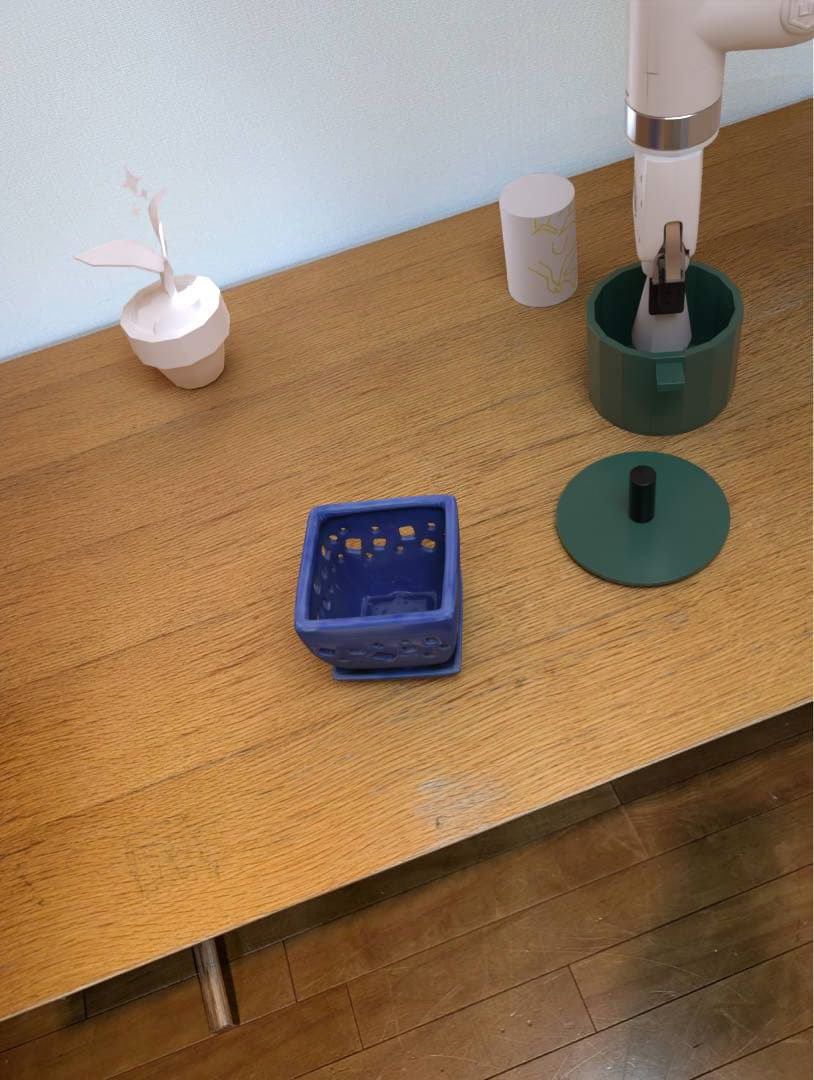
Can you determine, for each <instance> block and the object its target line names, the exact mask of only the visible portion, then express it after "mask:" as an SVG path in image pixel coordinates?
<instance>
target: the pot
mask: <svg viewBox="0 0 814 1080" xmlns="http://www.w3.org/2000/svg"><path fill="white" fill-rule="evenodd" d="M685 275H686V287H685V294H686V301H687V308H688V314H689V321H690V328H691V335H692V338H691V341H690V343H689V345H688V347H687V349H686V350H684V351H673V352H659V353H652V352H647V351H642V350H636V349H634V347H633V343H632V335H631V333H632V330H633V326H634V323H635V319H636V315H637V312H638V308H639V305H640V301H641V297H642V294H643V290H644V286H645V283H646V279H645V273H644V272H643V270H642V264H641V260H639V261H635V262H633V263H631V264H628V265H624V266H621V267H618V268H616V269H614V270H613V271H611V272H610V273H609V274H607V275H606V276H605V277H603V278H602V279H601V280H599V281H598V282H596V284H595V286H594V287H593V289H592V291H591V293H590V294H589V296H588V297H587V300H586V301H585V319H586V321H585V323H586V324H585V325H586V351H587V352H586V353H587V379H588V380H587V381H588V382H587V383H588V397H589V398H590V401H591V403H592V405H593V407H594V409H595V410H596V411H597V412H598V414H599V415H600V416H601V417H602V418H604V420H606V421H607V422H609V423H610V424H612V425H613V426H615V427H617V428H619V429H622V430H625V431H626V432H629V433H634V434H637V435H643V436H651V437H653V436H654V437H667V436H675V435H680V434H681V435H682V434H685V433H689V432H692V431H695V430H698V429H701V427H703V426H705V425H708V424H709V423H710V422H712V421H713V420H715V419H716V418H717V417H718V416H719V415H720V414H721V413H722V412H723V411H724V410H725V409H726V407H727V406H728V405H729V402H730V401H731V398H732V394H733V390H734V388H735V386H736V377H737V369H738V362H739V353H740V346H741V337H742V329H743V322H744V313H745V307H744V302H743V295H742V291H741V288H739V287H738V285H737V284H735V282H734V281H733V280H732V278H730V277H729V275H728V274H726V273H725V272H724V271H722V270H719V269H717V268H715V267H712V266H710V265H709V264H706V263H704V262H702V261H699V260H692V259H690V260H689V265H688V267H687V269H686V271H685Z"/></svg>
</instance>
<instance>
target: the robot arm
mask: <svg viewBox="0 0 814 1080" xmlns="http://www.w3.org/2000/svg"><path fill="white" fill-rule="evenodd" d="M624 22H625V27H624V29H625V30H624V31H625V33H624V34H625V35H624V38H625V39H624V44H625V45H624V46H625V47H624V138H625V141H626V143H627V144H628V145H629V146H630V147H631V148H632V149H633V150H634V167H633V168H634V169H633V192H632V217H633V225H634V226H633V228H634V238H635V247H636V248H635V249H636V254H637V258H638V259H639V261H642V262H646V261H653V273H652V278H649V301H648V311H649V314H650V315H664V314H677V313H682V312H683V311H684V302H685V287H686V275H685V256H687V257H688V258H690V259H691V258H692V257H693V256H694V255H695V253H696V250H697V242H698V234H699V233H698V232H699V225H700V224H699V222H700V211H701V201H702V200H701V199H702V198H701V197H702V184H703V168H704V152H705V151H704V149H705V148H706V147H708V146H710V144H712V143H713V142H714V141H715V140H716V138H717V137H718V136H719V132H720V125H721V124H720V123H721V112H722V101H723V89H724V80H725V79H724V78H725V67H726V55H727V53H729V52H741V51H743V52H744V51H758V50H773V49H782V48H783V49H785V48H789V47H794V46H797V45H800V44H801V45H802V44H804V43H807V42H809V41H811V40H812V41H813V39H814V0H625V21H624ZM662 245H665V247H664V248H661V246H662ZM660 259H665V268H661V269H660V270H659V266H660ZM645 279H647V275H646V274H645Z"/></svg>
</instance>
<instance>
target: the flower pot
mask: <svg viewBox="0 0 814 1080" xmlns="http://www.w3.org/2000/svg"><path fill="white" fill-rule="evenodd" d="M430 524H433V525H430ZM407 527H411V528H412V529H413V534H408V535H402V534H401V532H400V529H401V528H407ZM374 528H376V529H374ZM460 534H461V533H460V518H459V507H458V502H457V498H456V496H454V495H453V494H425V495H411V496H409V495H408V496H395V497H389V498H387V497H386V498H379V499H368V500H360V501H359V500H357V501H349V502H338V503H329V504H321V505H316V506H314V507H313V506H312V507H311V509H310V510H309V512H308V516H307V520H306V526H305V532H304V538H303V546H302V550H301V551H302V553H301V557H300V564H299V569H298V576H297V582H296V583H297V585H296V590H295V591H296V592H295V600H294V613H293V614H294V616H293V627H294V631H295V633H296V635H297V637H298V638H299V639H300V641H301V642H302V643H303V645H304V646H305V647H306V649H308V650H309V651H310V652H311V653H312V654H313V655H314V656H315V657H317V658H318V659H320V660H321V661H322V662H325V663H327V664H328V665H331V666H332V668H331V677H332V679H333V681H336V682H368V681H371V682H373V681H389V680H390V681H392V680H412V679H425V678H426V679H427V678H443V677H444V678H445V677H451V676H457V675H458V674H460V672H461V670H462V658H463V655H462V654H463V650H462V649H463V626H464V624H463V622H464V621H463V619H464V618H463V617H464V616H463V615H464V614H463V613H464V612H463V609H464V607H463V606H464V604H463V601H464V600H463V599H464V598H463V597H464V583H463V582H464V581H463V571H462V569H461V536H460ZM334 536H335V537H336V538H331V537H334ZM347 540H360V548H352V547H348V546H347V543H346V541H347ZM375 540H385V543H384V544H383V545H380V544H379V545H378V544H377V545H376V544H374V542H375ZM425 540H428V541H431V542H433V543H434V545H433V547H432V546H431V547H430V546H426V545H423V542H424V541H425ZM398 548H399V549H398ZM400 548H402V549H400ZM323 550H324V552H323ZM323 553H324V554H323ZM368 554H369V555H370V554H371V556H369V555H368ZM340 555H341V556H340Z"/></svg>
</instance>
